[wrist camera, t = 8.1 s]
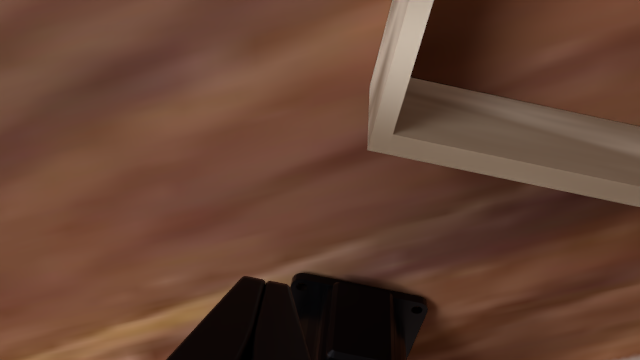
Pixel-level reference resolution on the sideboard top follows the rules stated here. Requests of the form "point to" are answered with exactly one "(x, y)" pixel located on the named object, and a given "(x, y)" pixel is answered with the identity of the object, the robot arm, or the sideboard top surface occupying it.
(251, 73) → the sideboard top surface
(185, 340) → the robot arm
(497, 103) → the cubby
